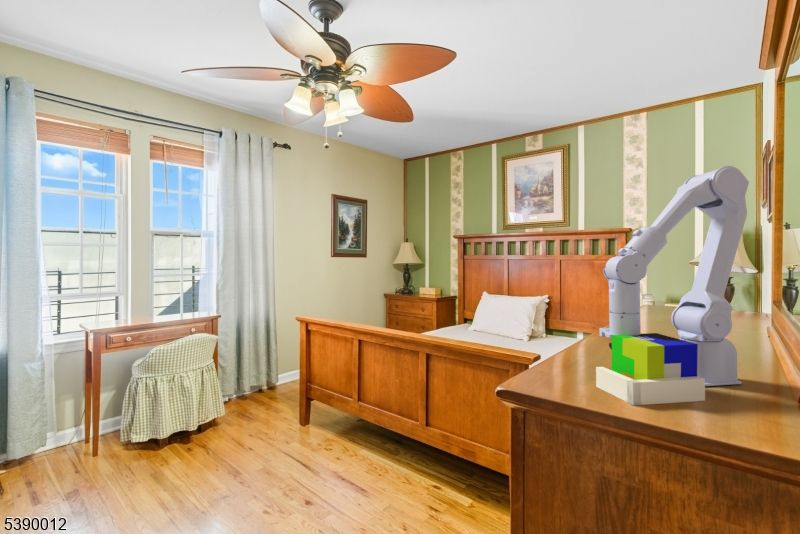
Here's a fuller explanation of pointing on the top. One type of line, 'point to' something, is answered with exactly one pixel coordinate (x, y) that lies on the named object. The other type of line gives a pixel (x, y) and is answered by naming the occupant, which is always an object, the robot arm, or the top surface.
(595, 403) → the top surface
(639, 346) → the puzzle toy
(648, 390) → the corner walls
